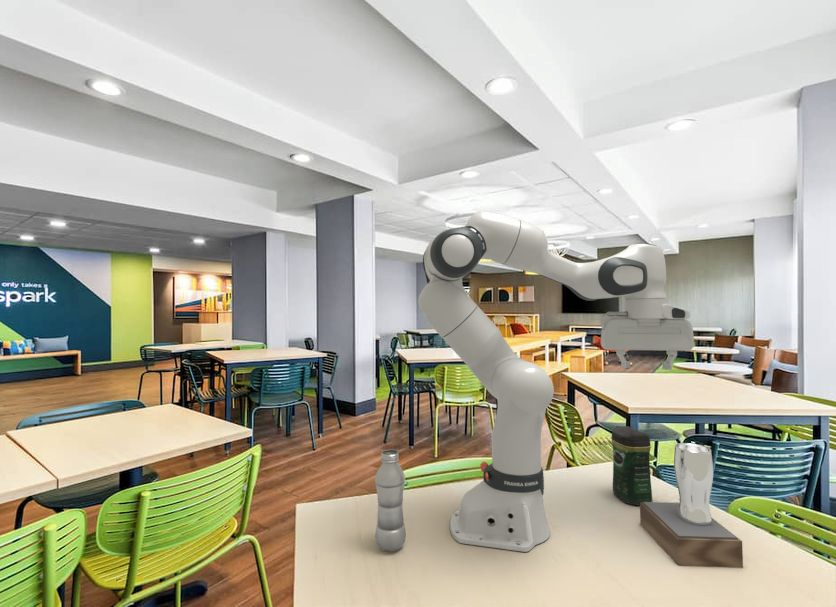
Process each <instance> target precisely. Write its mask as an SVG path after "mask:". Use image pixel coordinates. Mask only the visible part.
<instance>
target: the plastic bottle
mask: <svg viewBox="0 0 836 607" xmlns="http://www.w3.org/2000/svg"><path fill="white" fill-rule="evenodd" d="M399 461H400V459H399V451H398V450H396V449H385V450H382V451H381V458H380V462H381V463H382V464H381V465H380V466H379V468H378V470H377V471H376V473H375V477H374V479H375V480H374V481H375V488H376V495H377V509H378V510H377V522H376V529H375V536H374V537H375V541H376V545H377V547H378V548H379V549H380V550H381V551H384V552H394V551H398V550H400V549H402V547H403V545H404V544H405V542H406V537H407V536H406V535H407V533H406V526H405V522H404V520H405V519H404V512H403V511H404V509H403V507H404V506H403V504H404V503H403V501H404V491H405V490H404V489H405V481H406V479H405V478H406V477H405V476H406V475H405V473H404V470H403V469H402V467H401V465H400V464H399Z"/></svg>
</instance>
